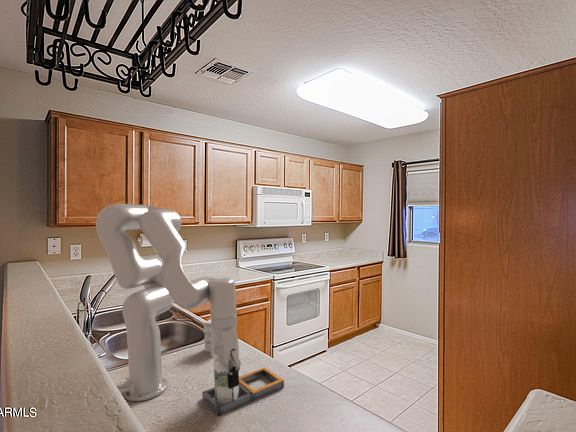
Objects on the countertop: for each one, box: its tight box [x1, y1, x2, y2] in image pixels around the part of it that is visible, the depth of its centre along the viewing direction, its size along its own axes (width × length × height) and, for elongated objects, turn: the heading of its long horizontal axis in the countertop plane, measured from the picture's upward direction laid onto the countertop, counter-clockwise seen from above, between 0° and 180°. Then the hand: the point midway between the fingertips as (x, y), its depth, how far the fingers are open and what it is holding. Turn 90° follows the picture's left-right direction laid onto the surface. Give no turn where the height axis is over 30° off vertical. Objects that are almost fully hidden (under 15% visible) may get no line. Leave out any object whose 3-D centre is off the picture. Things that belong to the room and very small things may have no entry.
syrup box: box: [212, 353, 240, 405], centre depth 93 cm, size 6×6×14 cm
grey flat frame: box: [201, 367, 285, 417], centre depth 96 cm, size 22×11×2 cm, turn 126°
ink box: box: [203, 318, 211, 353], centre depth 129 cm, size 8×5×12 cm, turn 71°
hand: (226, 380), depth 93 cm, fingers closed on syrup box, 8 cm apart
